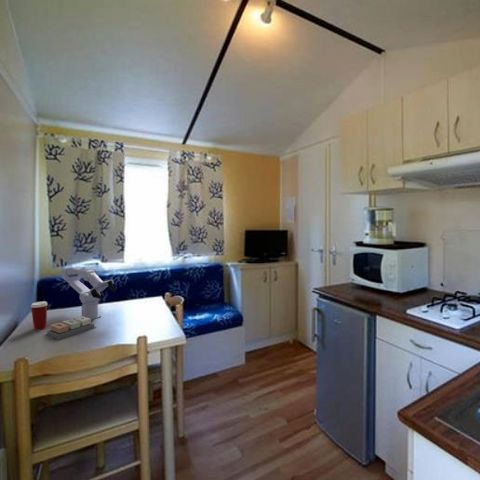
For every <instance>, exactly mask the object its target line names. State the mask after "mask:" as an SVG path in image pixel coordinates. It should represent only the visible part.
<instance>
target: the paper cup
mask: <svg viewBox="0 0 480 480" xmlns="http://www.w3.org/2000/svg"><path fill="white" fill-rule="evenodd" d="M30 308H31V316H32V317H31V318H32V325H33V330H34V331H40V330H45V329H46V328H47V316H48V302H47V301H36V302H33V303H31V305H30Z"/></svg>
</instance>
